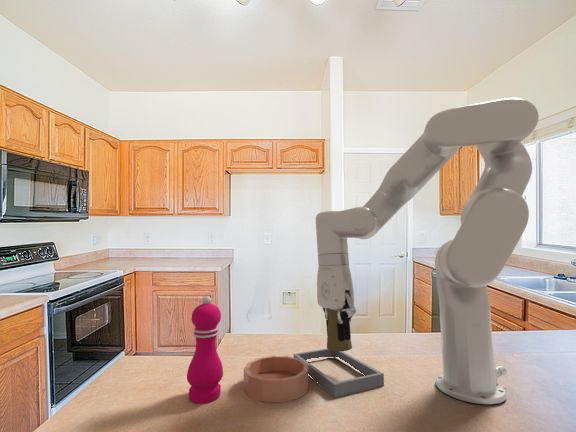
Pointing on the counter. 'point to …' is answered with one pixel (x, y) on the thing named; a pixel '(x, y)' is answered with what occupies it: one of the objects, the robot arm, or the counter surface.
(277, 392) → the bowl
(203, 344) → the pepper mill
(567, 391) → the counter surface
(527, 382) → the counter surface
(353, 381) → the grey rectangular frame
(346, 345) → the olive pestle
